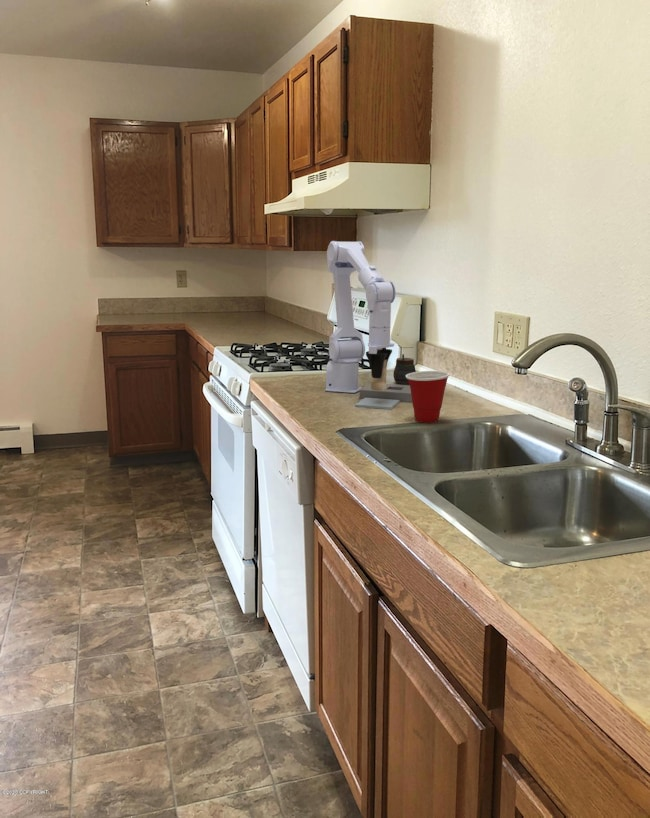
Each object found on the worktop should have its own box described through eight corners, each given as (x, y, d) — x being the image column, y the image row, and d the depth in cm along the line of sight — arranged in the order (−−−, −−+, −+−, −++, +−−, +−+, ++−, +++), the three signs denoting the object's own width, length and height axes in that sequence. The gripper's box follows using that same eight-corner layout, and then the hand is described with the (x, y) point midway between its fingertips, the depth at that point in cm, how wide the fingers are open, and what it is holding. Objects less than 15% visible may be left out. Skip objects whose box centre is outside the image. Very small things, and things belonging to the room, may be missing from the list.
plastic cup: (399, 415, 184) (400, 369, 181) (440, 414, 185) (442, 369, 182) (409, 425, 173) (411, 377, 171) (452, 424, 175) (455, 376, 172)
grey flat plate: (359, 398, 205) (359, 389, 204) (370, 390, 216) (370, 382, 215) (421, 403, 199) (421, 394, 199) (429, 395, 210) (429, 386, 210)
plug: (371, 389, 195) (371, 360, 193) (374, 387, 198) (374, 359, 196) (383, 390, 194) (383, 361, 192) (386, 388, 197) (386, 359, 195)
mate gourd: (415, 381, 232) (416, 351, 230) (416, 385, 224) (417, 354, 222) (393, 381, 233) (394, 350, 230) (393, 385, 225) (394, 353, 223)
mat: (355, 406, 194) (355, 404, 194) (365, 399, 203) (365, 397, 203) (391, 409, 191) (391, 407, 191) (399, 402, 200) (399, 400, 200)
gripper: (387, 330, 184) (386, 382, 187) (400, 325, 198) (398, 373, 201) (361, 329, 187) (360, 380, 190) (375, 324, 200) (374, 371, 203)
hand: (378, 376), depth 195 cm, fingers closed on plug, 3 cm apart
